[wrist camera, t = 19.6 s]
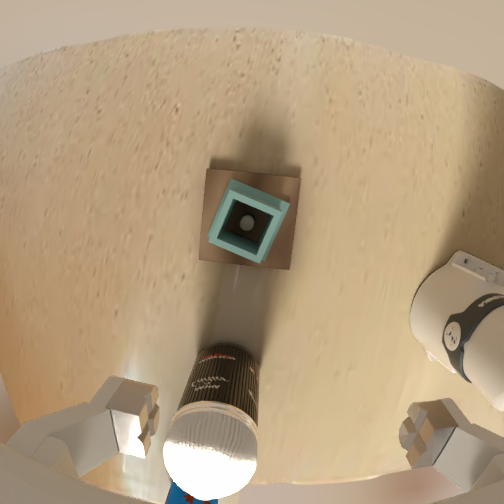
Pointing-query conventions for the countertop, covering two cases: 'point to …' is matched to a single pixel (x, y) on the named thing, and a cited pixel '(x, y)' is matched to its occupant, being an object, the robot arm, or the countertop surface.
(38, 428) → the robot arm
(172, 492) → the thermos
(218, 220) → the flanged sleeve
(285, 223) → the walnut post base
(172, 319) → the countertop surface
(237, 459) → the black white cylinder
